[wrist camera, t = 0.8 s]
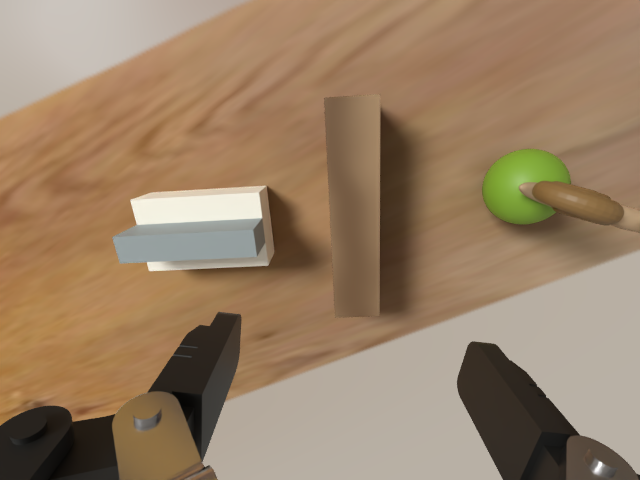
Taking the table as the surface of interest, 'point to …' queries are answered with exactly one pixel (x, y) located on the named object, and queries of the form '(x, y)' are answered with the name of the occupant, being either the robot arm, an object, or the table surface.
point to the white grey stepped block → (199, 229)
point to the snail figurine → (547, 193)
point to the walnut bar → (354, 202)
